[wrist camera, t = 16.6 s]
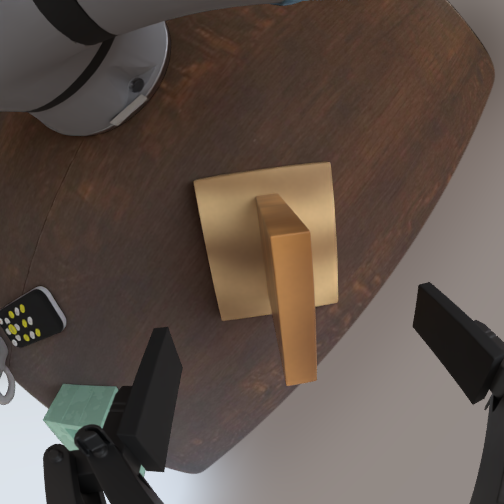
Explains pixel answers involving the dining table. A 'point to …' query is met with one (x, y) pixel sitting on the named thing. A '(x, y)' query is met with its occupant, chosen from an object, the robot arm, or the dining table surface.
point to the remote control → (32, 317)
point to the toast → (289, 286)
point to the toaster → (79, 411)
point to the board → (249, 239)
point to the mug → (0, 358)
